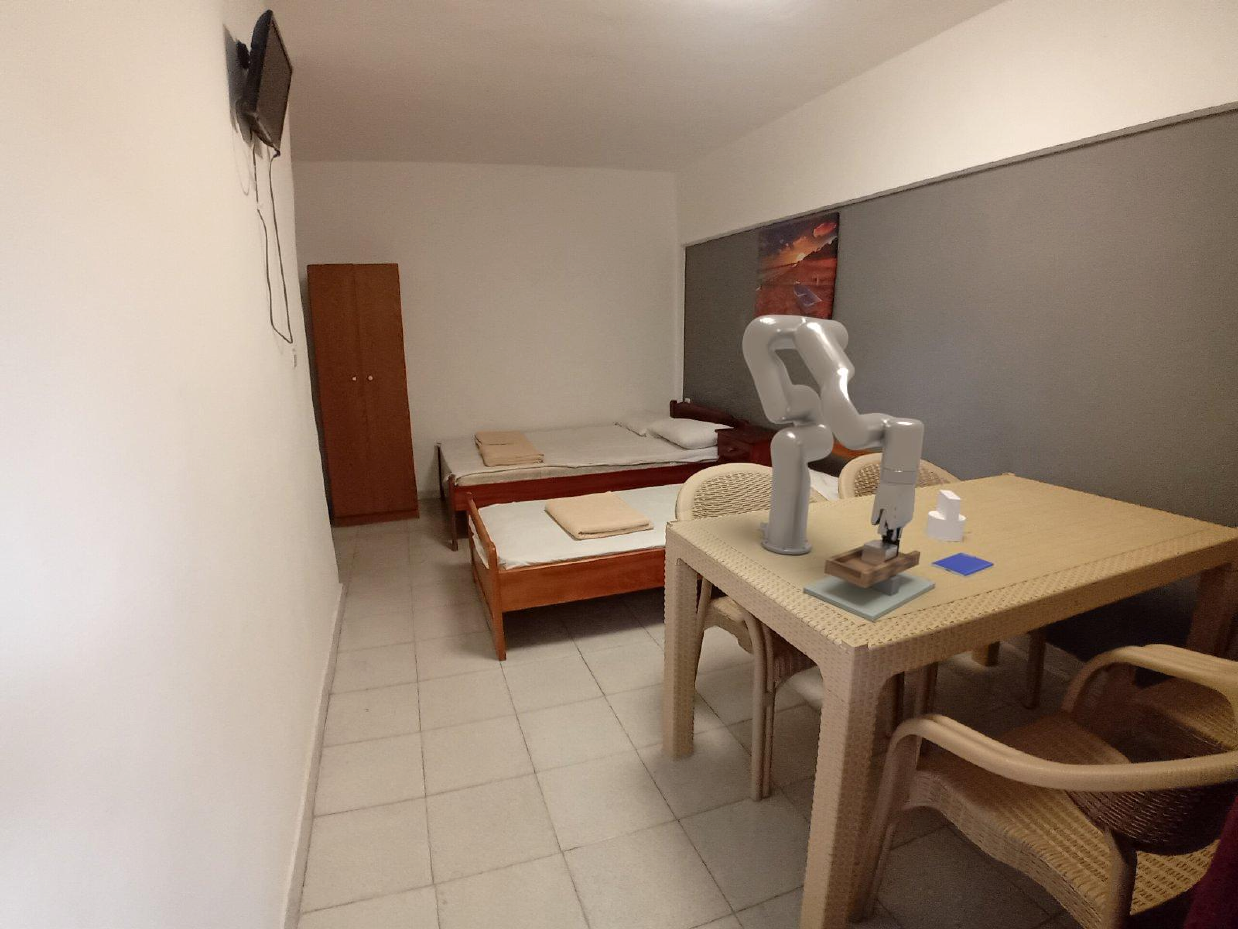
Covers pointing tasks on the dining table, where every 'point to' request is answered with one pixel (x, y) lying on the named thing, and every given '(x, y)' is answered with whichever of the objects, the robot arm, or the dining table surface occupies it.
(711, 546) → the dining table surface
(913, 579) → the beam stand
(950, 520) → the base with upright slab
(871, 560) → the steel block
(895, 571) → the beam
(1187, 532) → the dining table surface
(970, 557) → the hard drive
